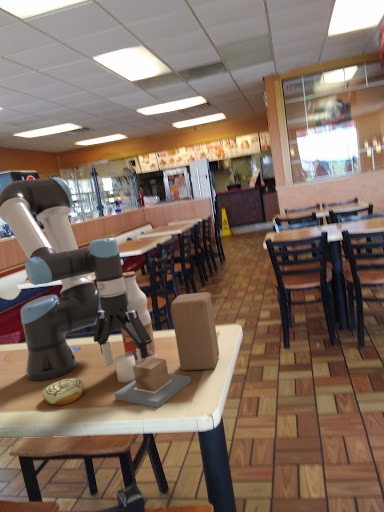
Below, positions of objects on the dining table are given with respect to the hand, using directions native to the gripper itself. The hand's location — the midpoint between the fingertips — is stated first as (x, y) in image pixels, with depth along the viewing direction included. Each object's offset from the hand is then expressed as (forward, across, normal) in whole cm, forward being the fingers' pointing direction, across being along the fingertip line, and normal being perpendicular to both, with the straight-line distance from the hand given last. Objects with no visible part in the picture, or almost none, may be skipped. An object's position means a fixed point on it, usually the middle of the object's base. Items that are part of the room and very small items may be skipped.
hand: (126, 367), depth 118 cm
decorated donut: (+4, -10, -15) cm, 18 cm away
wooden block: (+4, +16, +14) cm, 21 cm away
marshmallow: (+3, 0, 0) cm, 3 cm away
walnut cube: (+2, +13, -4) cm, 13 cm away
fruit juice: (+3, -4, +11) cm, 13 cm away
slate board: (+4, +12, -4) cm, 14 cm away
